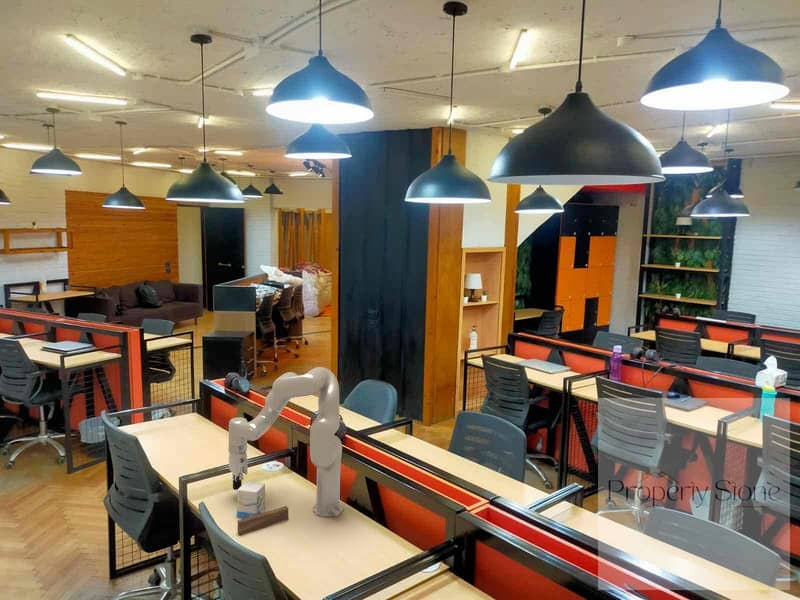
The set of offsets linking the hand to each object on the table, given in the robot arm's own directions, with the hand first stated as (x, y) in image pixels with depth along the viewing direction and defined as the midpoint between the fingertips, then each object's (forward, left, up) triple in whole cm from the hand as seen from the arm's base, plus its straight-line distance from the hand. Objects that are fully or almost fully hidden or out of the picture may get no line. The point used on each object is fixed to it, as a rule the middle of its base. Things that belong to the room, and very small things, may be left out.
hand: (237, 488), depth 232 cm
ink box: (-14, 0, -5) cm, 15 cm away
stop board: (-26, 0, -5) cm, 27 cm away
